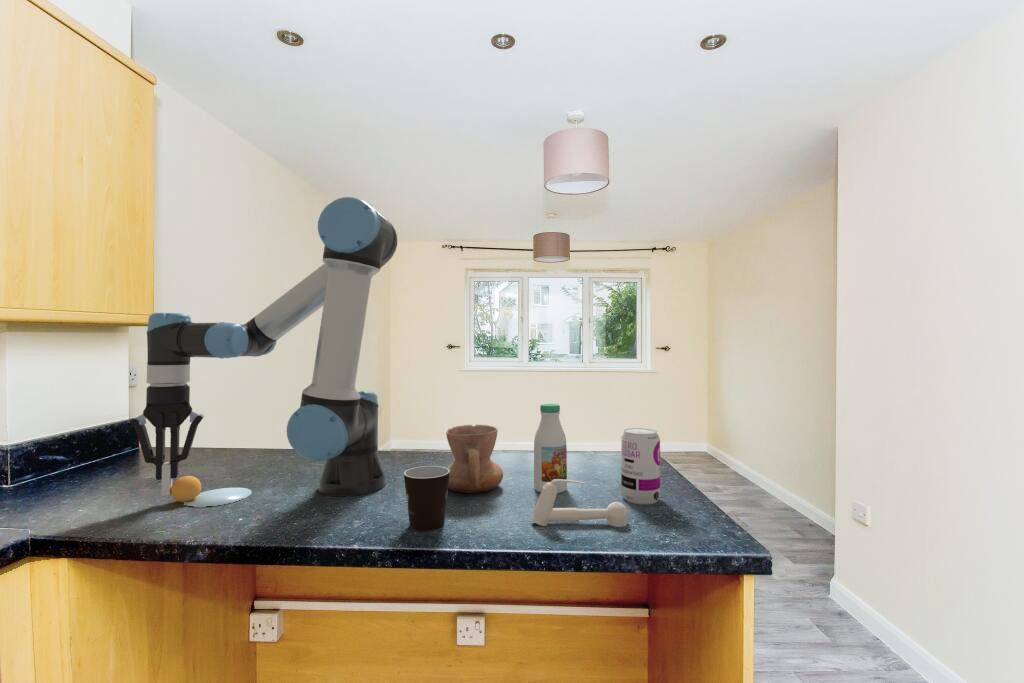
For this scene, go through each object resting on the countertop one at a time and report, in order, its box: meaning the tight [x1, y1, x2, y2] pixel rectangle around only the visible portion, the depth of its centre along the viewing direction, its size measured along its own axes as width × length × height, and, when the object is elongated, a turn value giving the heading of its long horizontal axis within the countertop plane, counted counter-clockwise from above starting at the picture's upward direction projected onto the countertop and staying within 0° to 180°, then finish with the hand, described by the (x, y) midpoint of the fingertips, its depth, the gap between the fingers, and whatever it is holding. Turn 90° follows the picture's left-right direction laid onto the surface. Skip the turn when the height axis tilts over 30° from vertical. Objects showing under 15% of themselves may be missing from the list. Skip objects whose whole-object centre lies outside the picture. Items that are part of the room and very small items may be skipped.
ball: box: [170, 475, 202, 503], centre depth 101 cm, size 6×6×6 cm
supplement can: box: [620, 427, 661, 506], centre depth 102 cm, size 8×8×15 cm
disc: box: [182, 487, 253, 508], centre depth 104 cm, size 13×13×1 cm
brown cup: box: [403, 465, 450, 532], centre depth 89 cm, size 12×9×10 cm
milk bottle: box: [533, 403, 568, 494], centre depth 109 cm, size 8×8×20 cm
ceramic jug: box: [445, 424, 504, 494], centre depth 109 cm, size 18×14×14 cm
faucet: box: [530, 479, 629, 528], centre depth 88 cm, size 4×18×10 cm, turn 91°
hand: (166, 493), depth 100 cm, fingers closed
